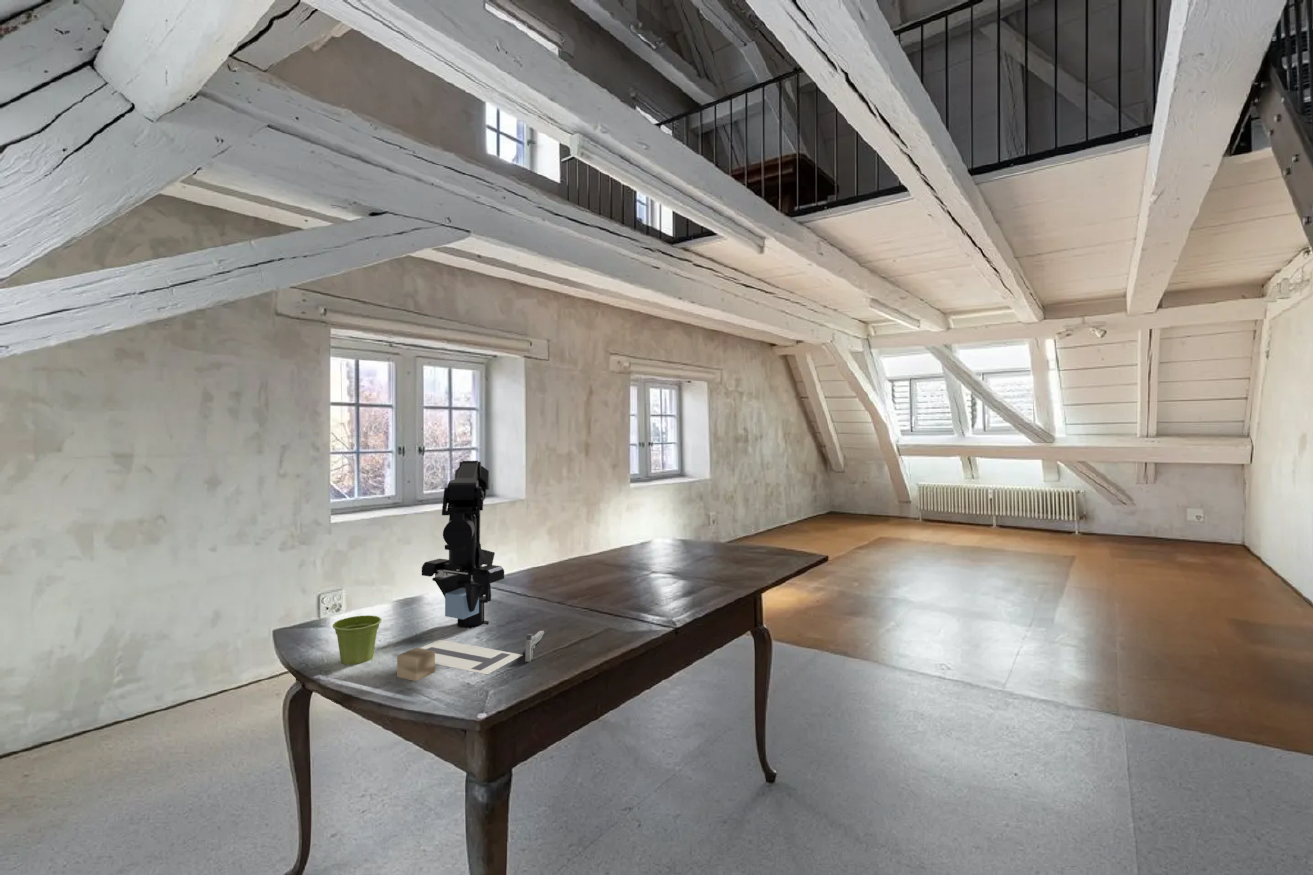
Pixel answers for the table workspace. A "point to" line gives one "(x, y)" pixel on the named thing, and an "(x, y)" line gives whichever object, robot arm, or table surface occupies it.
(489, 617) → the table surface
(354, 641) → the plant pot
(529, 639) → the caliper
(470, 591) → the robot arm
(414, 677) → the wood block
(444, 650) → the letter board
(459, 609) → the blue cube
